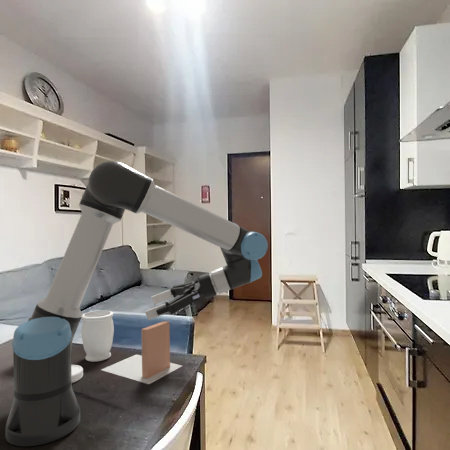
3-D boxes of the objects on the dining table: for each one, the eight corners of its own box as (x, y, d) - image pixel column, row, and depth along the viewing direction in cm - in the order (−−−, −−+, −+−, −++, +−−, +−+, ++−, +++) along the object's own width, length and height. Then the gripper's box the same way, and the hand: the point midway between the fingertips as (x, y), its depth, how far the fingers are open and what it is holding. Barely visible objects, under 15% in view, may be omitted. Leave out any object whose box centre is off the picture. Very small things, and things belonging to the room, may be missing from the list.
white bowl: (75, 372, 113) (74, 361, 113) (89, 382, 106) (88, 370, 106) (40, 382, 106) (40, 370, 106) (53, 394, 99) (52, 381, 99)
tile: (170, 366, 113) (169, 321, 113) (147, 378, 105) (146, 330, 105) (164, 365, 115) (163, 320, 114) (141, 376, 106) (140, 328, 106)
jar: (93, 351, 131) (92, 309, 131) (119, 352, 129) (119, 310, 129) (75, 362, 121) (74, 317, 120) (103, 364, 118) (103, 318, 118)
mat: (182, 368, 114) (182, 365, 114) (149, 387, 101) (149, 384, 101) (136, 357, 124) (136, 354, 124) (100, 373, 112) (100, 369, 112)
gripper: (219, 307, 102) (148, 335, 102) (216, 283, 127) (159, 305, 127) (210, 283, 101) (138, 311, 101) (208, 263, 126) (150, 285, 126)
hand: (149, 307), depth 114 cm, fingers open, 13 cm apart
